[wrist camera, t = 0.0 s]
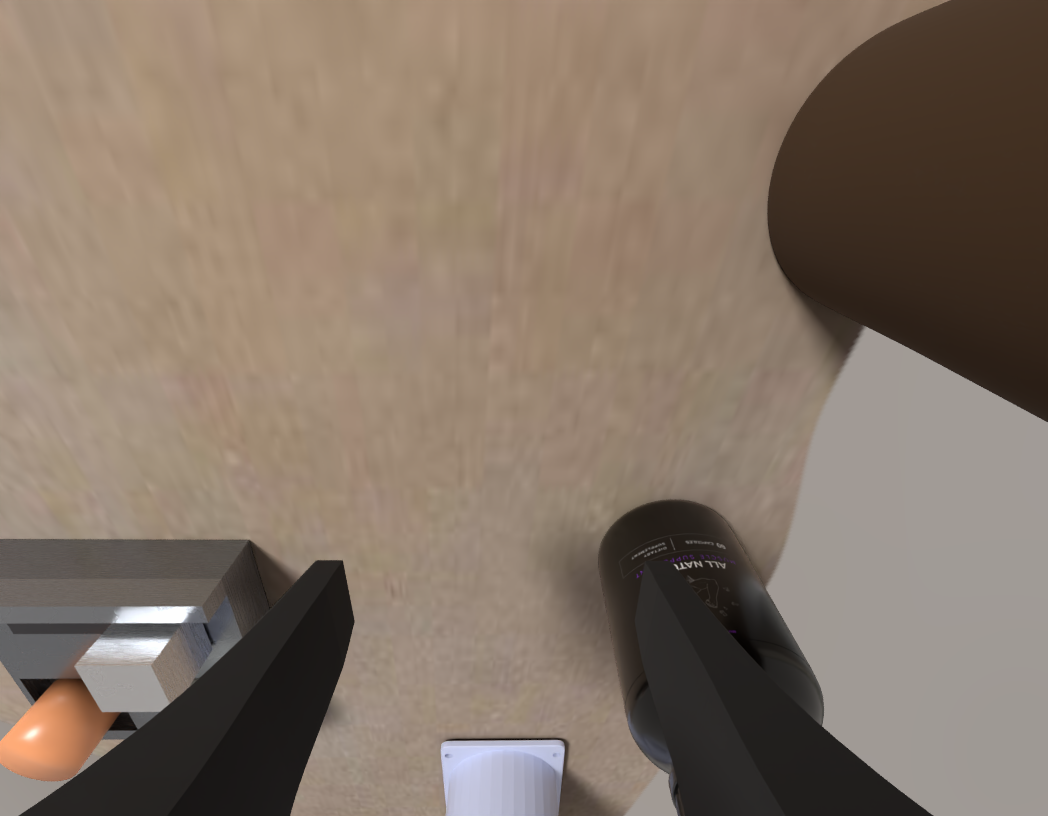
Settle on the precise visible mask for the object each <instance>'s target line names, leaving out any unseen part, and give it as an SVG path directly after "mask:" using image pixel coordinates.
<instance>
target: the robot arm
mask: <svg viewBox="0 0 1048 816" xmlns="http://www.w3.org/2000/svg"><path fill="white" fill-rule="evenodd" d="M353 626H354V616H353V611H352V606H351V600H350V595H349V590H348V585H347V580H346V575H345V570H344V565H343V560H317V561H316V562H315V563H313V564H312V565H311V567H310V568H309V569H308V570H307V571H306V572H305V573H304V574H303V575H302V576H301V577H300V578H299V579H298V580H297V581H296V582H295V583H294V585H293V586H292V587H291V588H290V589H289V590H288V591H287V592H286V593H285V594H284V595H283V596H282V597H281V598H280V599H279V600H278V602H277V603H276V604H275V605H274V606H273V607H272V608H271V609H270V610H269V611H268V612H267V613H266V614H265V615H264V616H263V617H262V618H261V619H260V620H259V621H258V622H257V623H256V624H255V625H254V626H253V627H252V628H251V629H250V630H249V631H248V632H247V633H246V634H245V635H244V636H243V637H242V638H241V639H240V640H239V641H238V642H237V643H236V644H235V645H234V646H233V647H232V648H231V649H230V650H229V651H228V652H227V653H226V654H224V655H223V656H222V657H221V658H220V659H219V660H218V661H217V662H216V663H215V664H214V665H213V666H212V667H211V668H210V669H209V670H207V671H206V672H205V673H204V674H203V675H202V676H201V677H200V678H199V679H198V680H197V681H195V682H194V683H193V684H192V685H191V686H190V687H189V688H187V689H186V690H185V691H184V692H183V693H182V694H181V695H179V696H178V697H177V698H176V699H175V700H174V701H172V702H171V703H170V704H169V705H168V706H166V707H165V708H164V709H163V710H162V711H160V712H159V713H158V714H157V715H156V716H154V717H153V718H152V719H151V720H150V721H148V722H147V723H146V724H145V725H143V726H142V727H141V728H139V729H138V730H137V731H136V732H134V733H133V734H132V735H130V736H129V737H128V738H126V739H125V740H124V741H123V742H121V743H120V744H119V745H117V746H116V747H115V748H113V749H112V750H111V751H109V752H108V753H107V754H105V755H104V756H103V757H101V758H100V759H99V760H97V761H96V762H95V763H93V764H92V765H91V766H89V767H88V768H87V769H86V770H84V771H83V772H81V773H80V774H79V775H77V776H76V777H74V778H73V779H72V780H70V781H69V782H67V783H66V784H64V785H63V786H62V787H60V788H59V789H57V790H56V791H54V792H53V793H52V794H50V795H49V796H47V797H46V798H44V799H43V800H41V801H40V802H38V803H37V804H36V805H34V806H33V807H31V808H30V809H28V810H27V811H25V812H24V813H22V814H21V815H19V816H290V814H291V810H292V807H293V803H294V800H295V796H296V793H297V790H298V787H299V784H300V781H301V778H302V776H303V773H304V770H305V767H306V764H307V762H308V759H309V757H310V754H311V751H312V749H313V746H314V743H315V741H316V738H317V735H318V733H319V730H320V727H321V725H322V722H323V719H324V717H325V714H326V711H327V709H328V706H329V704H330V701H331V698H332V695H333V693H334V690H335V687H336V685H337V682H338V679H339V677H340V674H341V671H342V668H343V665H344V662H345V658H346V654H347V650H348V646H349V642H350V638H351V634H352V630H353ZM635 626H636V631H637V637H638V643H639V648H640V653H641V658H642V663H643V667H644V671H645V674H646V677H647V681H648V684H649V687H650V691H651V694H652V697H653V701H654V704H655V707H656V711H657V714H658V717H659V721H660V724H661V727H662V730H663V734H664V737H665V740H666V744H667V747H668V750H669V753H670V757H671V760H672V763H673V767H674V770H675V774H676V778H677V782H678V785H679V789H680V793H681V798H682V802H683V807H684V812H685V816H933V815H931V814H930V813H929V812H927V811H926V810H925V809H924V808H922V807H921V806H919V805H918V804H917V803H915V802H914V801H913V800H911V799H910V798H909V797H907V796H906V795H905V794H904V793H902V792H901V791H900V790H898V789H897V788H896V787H894V786H893V785H892V784H891V783H889V782H888V781H887V780H885V779H884V778H883V777H882V776H880V775H879V774H878V773H877V772H875V771H874V770H873V769H872V768H871V767H870V766H868V765H867V764H866V763H865V762H864V761H862V760H861V759H860V758H858V757H857V756H856V755H855V754H854V753H853V752H851V751H850V750H849V749H848V748H846V747H845V746H844V745H843V744H842V743H841V742H839V741H838V740H837V739H836V738H835V737H833V736H832V735H831V734H830V733H829V732H828V731H826V730H825V729H824V728H823V727H822V726H821V725H820V724H819V723H818V722H816V721H815V720H814V719H813V718H812V717H811V716H810V715H809V714H808V713H807V712H806V711H805V710H803V709H802V708H801V707H800V706H799V705H798V704H797V703H796V702H795V701H794V700H793V699H792V698H791V697H790V696H789V695H788V694H787V693H786V692H785V691H784V690H783V689H782V688H781V687H780V686H779V685H778V684H777V683H776V682H775V681H774V680H773V679H772V678H771V677H770V676H769V675H768V674H767V673H766V672H765V671H764V670H763V669H762V668H761V667H760V666H759V665H758V664H757V663H756V662H755V661H754V659H753V658H752V657H751V656H750V655H749V654H748V653H747V652H746V651H745V650H744V649H743V647H742V646H741V645H740V644H739V643H738V642H737V641H736V640H735V638H734V637H733V636H732V635H731V634H730V633H729V632H728V630H727V629H726V628H725V627H724V626H723V625H722V624H721V622H720V621H719V620H718V619H717V618H716V617H715V615H714V614H713V613H712V612H711V611H710V609H709V608H708V607H707V606H706V604H705V603H704V602H703V601H702V600H701V598H700V597H699V596H698V595H697V593H696V592H695V591H694V590H693V588H692V587H691V586H690V585H689V583H688V582H687V581H686V579H685V578H684V577H683V576H682V574H681V573H680V572H679V570H678V569H677V568H676V567H675V565H674V564H673V563H672V562H671V561H645V564H644V570H643V576H642V582H641V587H640V593H639V599H638V604H637V610H636V616H635ZM564 753H565V745H564V742H562V741H561V740H482V741H445V742H443V743H442V745H441V758H442V769H443V779H444V789H445V799H446V816H559V814H558V813H559V803H560V793H561V783H562V773H563V763H564Z"/></svg>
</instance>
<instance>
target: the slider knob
mask: <svg viewBox="0 0 1048 816" xmlns="http://www.w3.org/2000/svg"><path fill="white" fill-rule="evenodd" d="M212 650H213V648H212V646H211V643H210V641H209V638H208V636H207V633H206V631H205V628H204V626H203V623H112V624H111V625H110V626H109V627H108V628H107V629H106V630H105V632H104V633H103V634H102V635H101V636H100V637H99V638H98V640H97V641H96V642H95V643H94V644H93V645H92V646H91V647H90V649H89V650H88V651H87V652H86V653H85V654H84V655H83V657H82V658H81V659H80V660H79V661H78V662H77V663H76V664H75V666H74V667H75V668H76V670H77V672H78V673H79V675H80V677H81V678H82V680H83V682H84V683H85V685H86V687H87V688H88V690H89V692H90V693H91V695H92V696H93V698H94V700H95V701H96V703H97V705H98V706H99V708H100V710H101V711H102V712H160V711H162V710H163V709H164V708H165V707H166V706H168V705H169V704H170V703H171V702H172V701H174V700H175V699H176V698H177V697H178V696H179V695H181V694H182V693H183V692H184V691H185V690H186V689H187V688H189V686H190V685H191V683H192V682H193V680H194V678H195V677H196V675H197V674H198V672H199V670H200V669H201V667H202V666H203V664H204V662H205V661H206V659H207V658H208V656H209V654H210V653H211V651H212Z"/></svg>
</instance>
